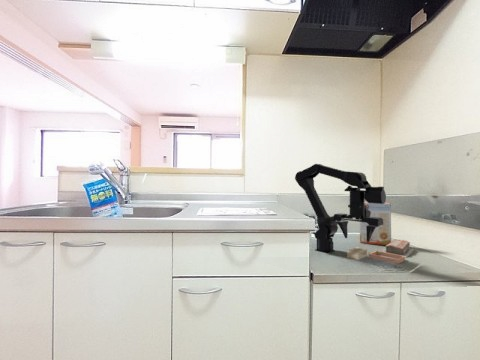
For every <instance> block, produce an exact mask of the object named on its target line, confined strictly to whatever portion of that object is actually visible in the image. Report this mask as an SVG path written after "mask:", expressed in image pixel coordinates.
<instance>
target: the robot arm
mask: <svg viewBox="0 0 480 360" xmlns="http://www.w3.org/2000/svg"><path fill="white" fill-rule="evenodd" d="M319 174H321V175H324V176H328V177H331V178H335V179H339V180H341V181H342V182H344V183H346V184H347V185H348V186H347V187H346V188H345V189H343V190H344V192H349V204H347V207H348V208H349V214H348V213H342V212H341V213H340V212H339V213H334V214H333V216H330V215H329V214H328V212H327V210H326V208H325V205H324V204H323V201H322V200H321V198H320V196H319V194H318V192H317V190H316V187H315V180H314V178H316V177H317V176H319ZM294 180H295V181H296V183H297V184H298V186H300V188H301V189H302V190H303V191H304V193H305V194H306V196H307V199H308V202H309V203H310V205H311V207H312V210H313V211H314V214H315V215H316V218H317V226H318V229H317V230H316V231H315V232H314V234H313V235H314V238H315V239H316V248H315V249H314V251H316V252H320V253H323V254H324V253H325V254H330V253H332V252H335V249H334V241H333V238H334V237H335V234H336V233H338V230H339V228H340V229H341V232H342V234H343V236H344V238H345V239H348V225H349V222H358V223H360V222H366V223H368V224H369V225H368V226H366V231H367V242H369V241H370V239H371V236H372V234H373V231H374V230H375V228H376V227H379V226H380V225H383V219H382V218H380V217H370V214H371V211H369V210H368V209H366V205H365V202H368V203H374V204H384V203H386V199H387V194H386V192H385V186H372V185H371V183H369V181H368V180H367V176H366V174H365V173H363V172H359V171H345V170H341V169H338V168H334V167H332V166H331V167H330V166H326V165H323V164H321V163H315V164H312V165H311V166H309V167H306V168H305V169H303V170H299V171H297V172H296V174H295V176H294Z"/></svg>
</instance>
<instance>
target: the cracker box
mask: <svg viewBox="0 0 480 360" xmlns="http://www.w3.org/2000/svg"><path fill="white" fill-rule="evenodd" d="M365 205H366V209H368V210H369V211H371V214H370V217H380V218H382V219H383V225H380V226H379V227H376V228H375V230H374V231H373V234H372V236H371V239H370V241H369V242H367V231H366V226H368V225H369V224H368V223H366V222H359V243H361V244H370V245H377V246H386V245H388V244H389V243H390V242H392V208H391V207H392V204H391V202H385V203H384V204H374V203H368V202H367V201H365Z"/></svg>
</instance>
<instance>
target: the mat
mask: <svg viewBox="0 0 480 360" xmlns="http://www.w3.org/2000/svg"><path fill="white" fill-rule="evenodd" d="M370 253H371V252H368V251H367V256H366V257H364V258H362V259H360V260H356V259H351V258H347V255H346V256H344V258H345V259H350V260H355V261H358V262H362V263H366V264H370V265H376V266H380V267H386V268H389V269H392V268H394V267H395V266H397V265H398V264H397V263H392V262H387V261H383V260H378V259H373V258H369V254H370ZM378 256H381V255H378ZM383 257H386V256H383ZM388 258H391V257H388ZM393 259H396V258H393Z"/></svg>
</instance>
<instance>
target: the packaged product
mask: <svg viewBox="0 0 480 360" xmlns="http://www.w3.org/2000/svg"><path fill="white" fill-rule="evenodd" d="M410 244H411V242H410V241H408V240H404V239H402V240H401V239H393V240H391V242H390V243H389V244H388V245H385V248H383V249H382V250H380V251H381V252H386V253H391V254H396V255H402V256H405V259H406V258H408V257H409V255H411V254H413V252H414V250H415V248H411V247H410Z"/></svg>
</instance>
